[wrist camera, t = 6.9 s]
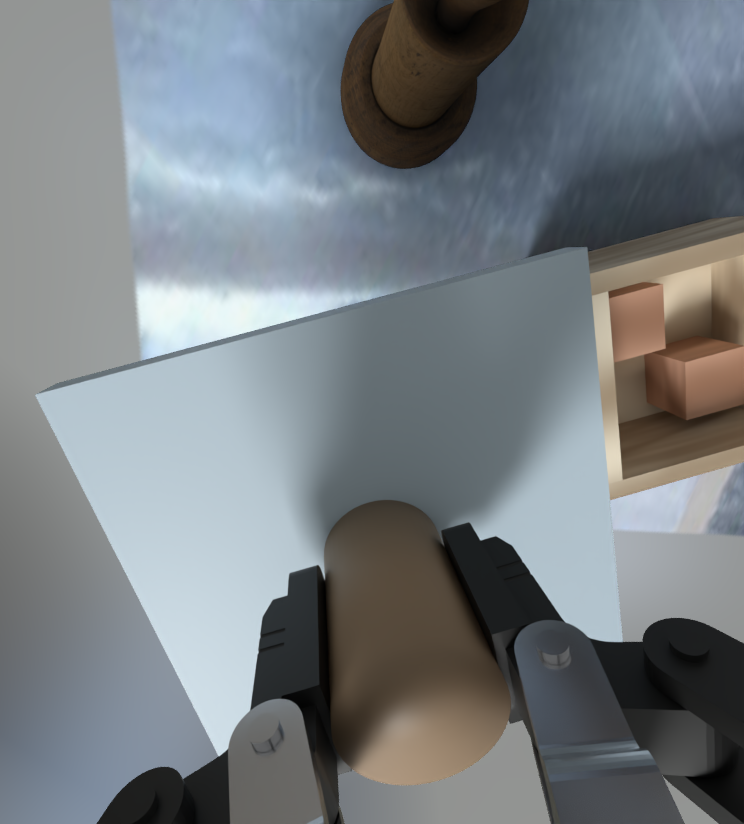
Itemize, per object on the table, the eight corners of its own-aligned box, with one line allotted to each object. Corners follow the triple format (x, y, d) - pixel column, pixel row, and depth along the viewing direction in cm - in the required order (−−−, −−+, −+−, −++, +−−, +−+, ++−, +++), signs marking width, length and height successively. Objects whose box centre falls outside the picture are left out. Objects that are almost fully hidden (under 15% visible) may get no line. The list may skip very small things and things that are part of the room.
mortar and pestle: (313, 76, 24) (317, -333, 7) (419, -10, 24) (694, -673, 7) (388, 195, 26) (527, 94, 9) (487, 119, 26) (827, -136, 9)
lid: (57, 383, 12) (-179, 504, 6) (565, 247, 12) (786, 242, 7) (235, 748, 16) (194, 1018, 10) (606, 638, 16) (760, 840, 11)
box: (521, 269, 28) (585, 275, 22) (713, 218, 29) (833, 208, 22) (546, 450, 32) (606, 501, 26) (714, 403, 33) (815, 441, 26)
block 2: (643, 350, 30) (685, 362, 27) (697, 335, 30) (744, 345, 27) (646, 402, 31) (686, 420, 28) (698, 388, 31) (743, 404, 28)
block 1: (565, 295, 28) (599, 301, 25) (622, 279, 28) (663, 283, 25) (571, 352, 29) (604, 365, 26) (625, 337, 30) (665, 348, 26)
